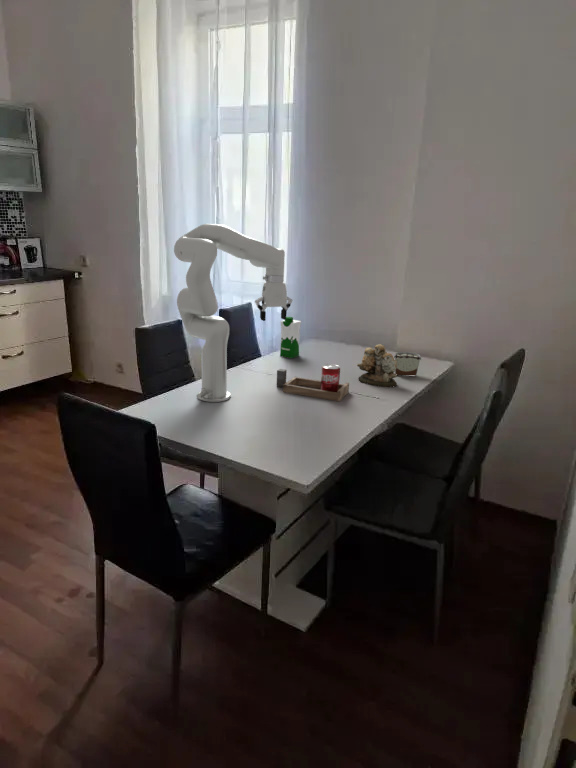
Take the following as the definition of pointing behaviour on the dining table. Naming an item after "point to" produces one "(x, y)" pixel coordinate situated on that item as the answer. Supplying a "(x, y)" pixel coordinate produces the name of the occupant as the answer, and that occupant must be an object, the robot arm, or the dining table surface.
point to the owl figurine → (378, 367)
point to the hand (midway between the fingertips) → (273, 319)
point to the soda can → (330, 377)
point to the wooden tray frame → (291, 387)
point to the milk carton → (290, 337)
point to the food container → (407, 363)
